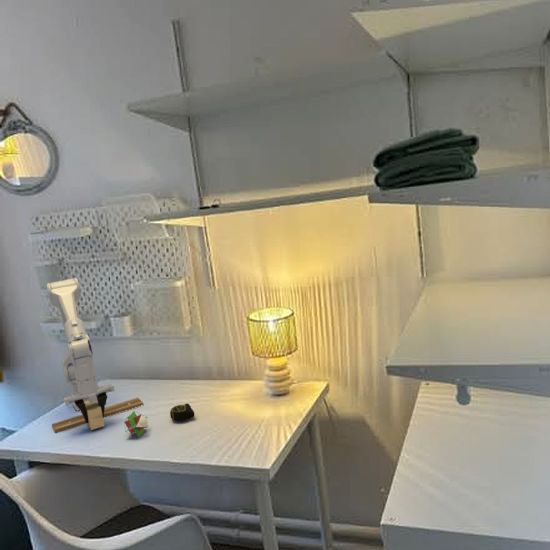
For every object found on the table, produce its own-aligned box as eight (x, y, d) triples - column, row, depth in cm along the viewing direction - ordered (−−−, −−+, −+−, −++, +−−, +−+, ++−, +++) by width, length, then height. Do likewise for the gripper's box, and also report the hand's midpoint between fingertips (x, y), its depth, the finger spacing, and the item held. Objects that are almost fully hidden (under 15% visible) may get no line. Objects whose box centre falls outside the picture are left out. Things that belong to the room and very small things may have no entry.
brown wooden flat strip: (52, 426, 190) (51, 423, 190) (138, 400, 203) (137, 397, 203) (55, 433, 185) (54, 429, 185) (143, 405, 198) (142, 402, 197)
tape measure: (195, 420, 180) (193, 408, 179) (173, 426, 178) (171, 414, 177) (191, 412, 186) (189, 401, 186) (169, 418, 185) (167, 406, 184)
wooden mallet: (82, 416, 192) (78, 399, 191) (95, 413, 194) (91, 395, 193) (91, 430, 181) (87, 411, 180) (104, 425, 183) (100, 407, 182)
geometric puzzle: (115, 432, 174) (125, 412, 171) (127, 422, 180) (137, 402, 177) (135, 446, 173) (145, 426, 170) (146, 435, 179) (156, 415, 177)
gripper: (63, 388, 175) (73, 431, 177) (113, 374, 182) (121, 416, 184) (59, 382, 181) (68, 424, 184) (107, 368, 188) (115, 409, 190)
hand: (94, 419), depth 184 cm, fingers closed on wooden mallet, 4 cm apart
